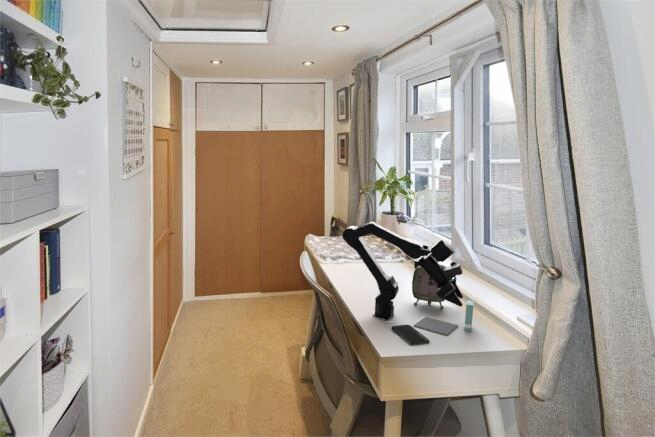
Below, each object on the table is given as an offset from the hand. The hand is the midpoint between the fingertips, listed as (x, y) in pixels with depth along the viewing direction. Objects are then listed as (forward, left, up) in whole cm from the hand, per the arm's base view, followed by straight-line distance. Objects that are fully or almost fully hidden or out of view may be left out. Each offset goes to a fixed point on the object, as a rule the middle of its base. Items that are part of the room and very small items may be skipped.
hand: (461, 301), depth 168 cm
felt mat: (-7, -5, -10) cm, 13 cm away
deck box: (+3, +1, -10) cm, 10 cm away
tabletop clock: (-18, +14, -10) cm, 25 cm away
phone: (-11, -19, -11) cm, 25 cm away
